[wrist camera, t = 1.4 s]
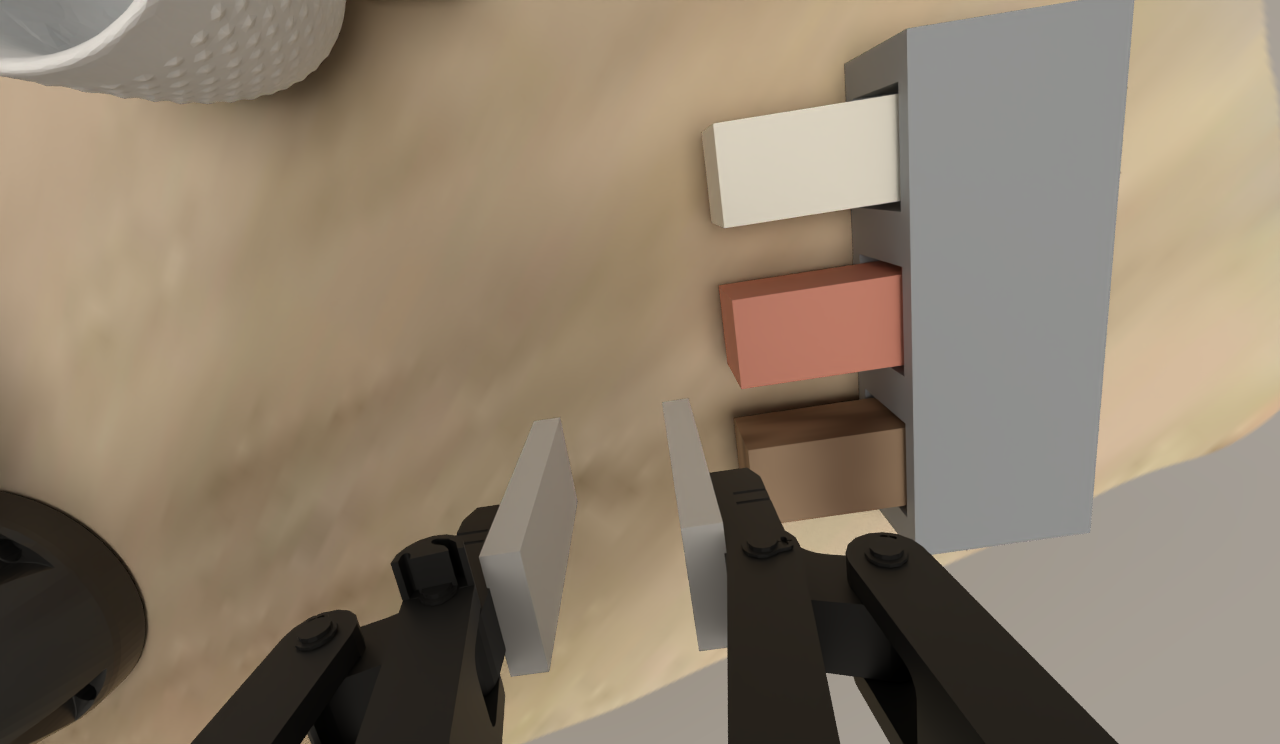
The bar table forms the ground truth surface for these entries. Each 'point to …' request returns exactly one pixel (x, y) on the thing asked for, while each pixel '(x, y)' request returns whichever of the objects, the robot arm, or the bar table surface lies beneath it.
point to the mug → (168, 45)
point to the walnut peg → (827, 458)
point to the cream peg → (803, 162)
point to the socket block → (999, 263)
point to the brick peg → (814, 323)
